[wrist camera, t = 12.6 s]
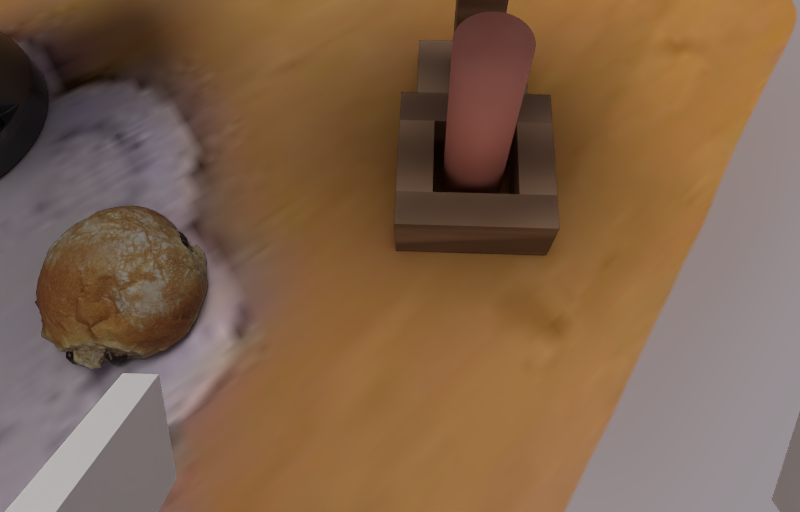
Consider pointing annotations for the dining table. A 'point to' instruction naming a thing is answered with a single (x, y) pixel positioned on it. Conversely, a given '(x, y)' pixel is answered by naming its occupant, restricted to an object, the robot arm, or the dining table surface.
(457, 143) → the peg
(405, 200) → the awning socket
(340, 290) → the dining table surface
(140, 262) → the bread roll
